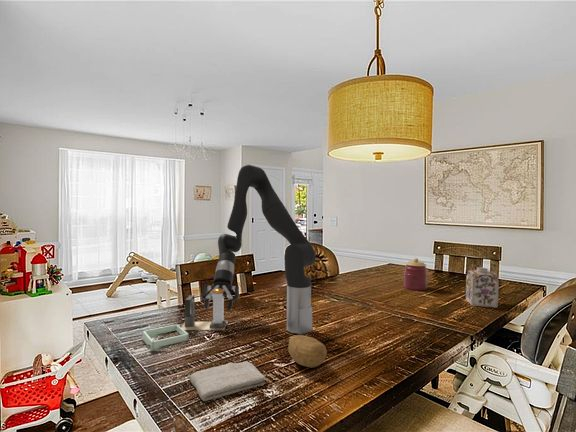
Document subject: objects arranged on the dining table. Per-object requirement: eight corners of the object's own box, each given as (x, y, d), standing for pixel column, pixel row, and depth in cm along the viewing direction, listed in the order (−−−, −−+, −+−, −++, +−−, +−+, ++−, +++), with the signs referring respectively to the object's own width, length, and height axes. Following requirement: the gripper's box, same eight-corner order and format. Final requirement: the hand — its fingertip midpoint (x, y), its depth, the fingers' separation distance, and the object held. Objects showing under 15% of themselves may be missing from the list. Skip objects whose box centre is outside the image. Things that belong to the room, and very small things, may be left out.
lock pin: (224, 323, 135) (224, 288, 134) (222, 327, 130) (223, 291, 130) (213, 323, 135) (214, 288, 134) (211, 327, 130) (212, 291, 130)
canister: (429, 287, 204) (429, 257, 204) (424, 291, 193) (425, 260, 193) (406, 284, 211) (407, 255, 211) (401, 288, 200) (401, 258, 200)
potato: (303, 352, 112) (304, 328, 111) (334, 369, 100) (334, 342, 100) (279, 360, 106) (279, 334, 106) (309, 378, 95) (309, 350, 94)
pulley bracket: (227, 324, 137) (228, 294, 137) (224, 332, 128) (224, 300, 128) (185, 324, 137) (185, 294, 136) (178, 332, 128) (178, 300, 127)
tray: (188, 342, 118) (188, 334, 118) (152, 351, 111) (152, 342, 111) (176, 332, 128) (176, 324, 128) (142, 339, 121) (142, 330, 121)
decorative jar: (471, 306, 166) (472, 269, 166) (465, 299, 177) (465, 265, 177) (498, 308, 163) (500, 270, 163) (490, 301, 175) (491, 266, 174)
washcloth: (268, 385, 92) (268, 374, 91) (201, 405, 82) (202, 392, 82) (249, 367, 102) (249, 357, 102) (188, 383, 93) (188, 371, 92)
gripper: (205, 268, 140) (197, 304, 129) (240, 268, 139) (235, 305, 128) (208, 278, 145) (201, 313, 134) (242, 279, 145) (237, 314, 134)
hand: (217, 309), depth 131 cm, fingers open, 8 cm apart
